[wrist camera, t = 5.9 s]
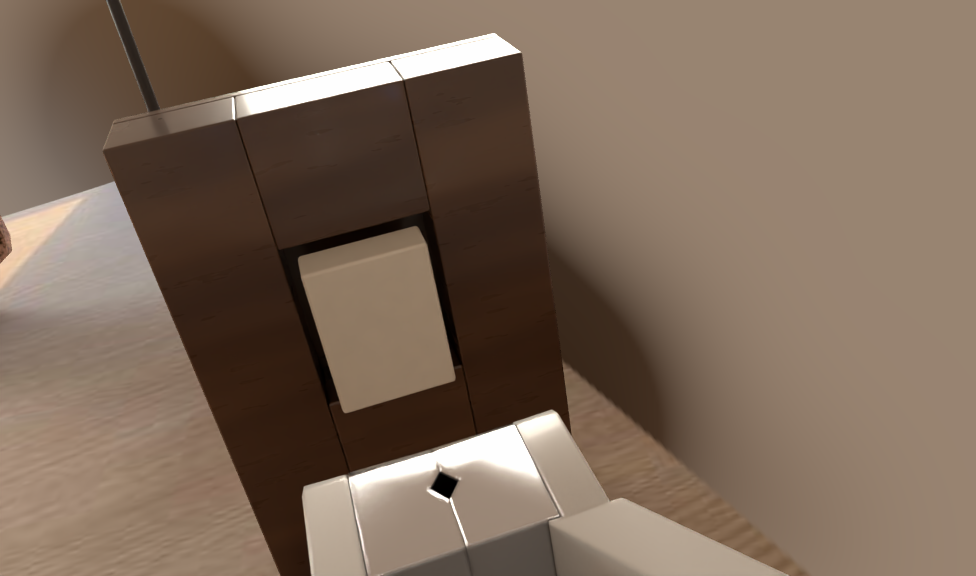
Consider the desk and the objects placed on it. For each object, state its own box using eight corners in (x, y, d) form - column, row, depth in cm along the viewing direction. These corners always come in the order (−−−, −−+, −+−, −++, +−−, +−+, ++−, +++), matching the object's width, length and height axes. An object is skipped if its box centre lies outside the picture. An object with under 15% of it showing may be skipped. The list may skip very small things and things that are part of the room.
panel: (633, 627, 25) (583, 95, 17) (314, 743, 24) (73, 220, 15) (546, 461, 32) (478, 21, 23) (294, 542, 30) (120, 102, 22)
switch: (456, 381, 23) (427, 243, 20) (344, 415, 22) (300, 276, 20) (446, 358, 24) (417, 223, 21) (338, 390, 23) (296, 255, 21)
